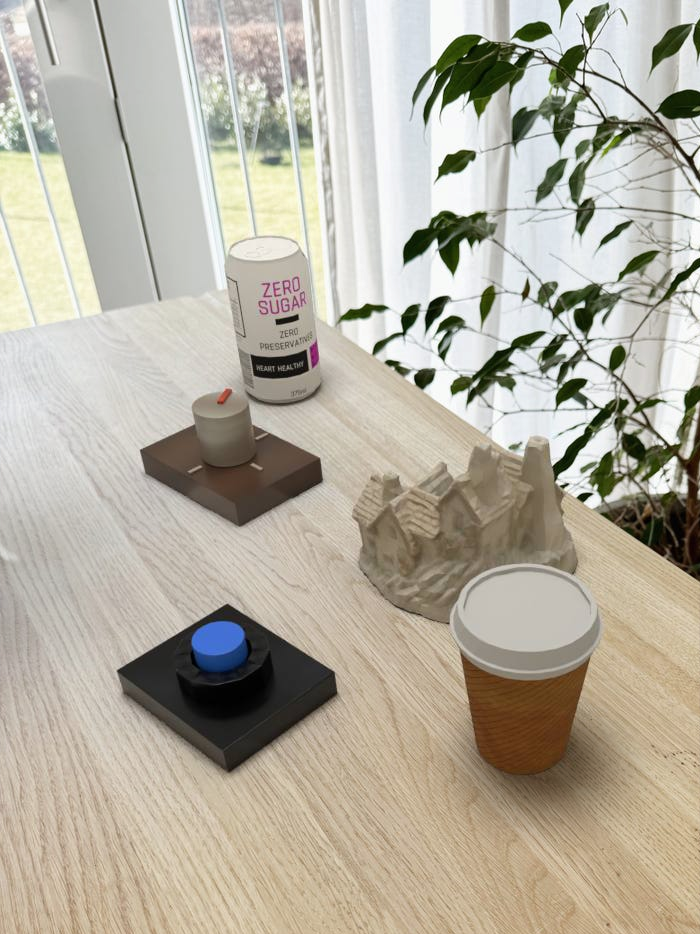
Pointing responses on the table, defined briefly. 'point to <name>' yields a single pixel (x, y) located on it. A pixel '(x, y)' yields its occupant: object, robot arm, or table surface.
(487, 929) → the table surface
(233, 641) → the light button
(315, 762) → the table surface
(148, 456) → the panel
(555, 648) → the disposable coffee cup
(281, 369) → the white soda can
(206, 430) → the dimmer knob
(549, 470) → the ceramic cottage
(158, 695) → the switch block
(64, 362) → the table surface
